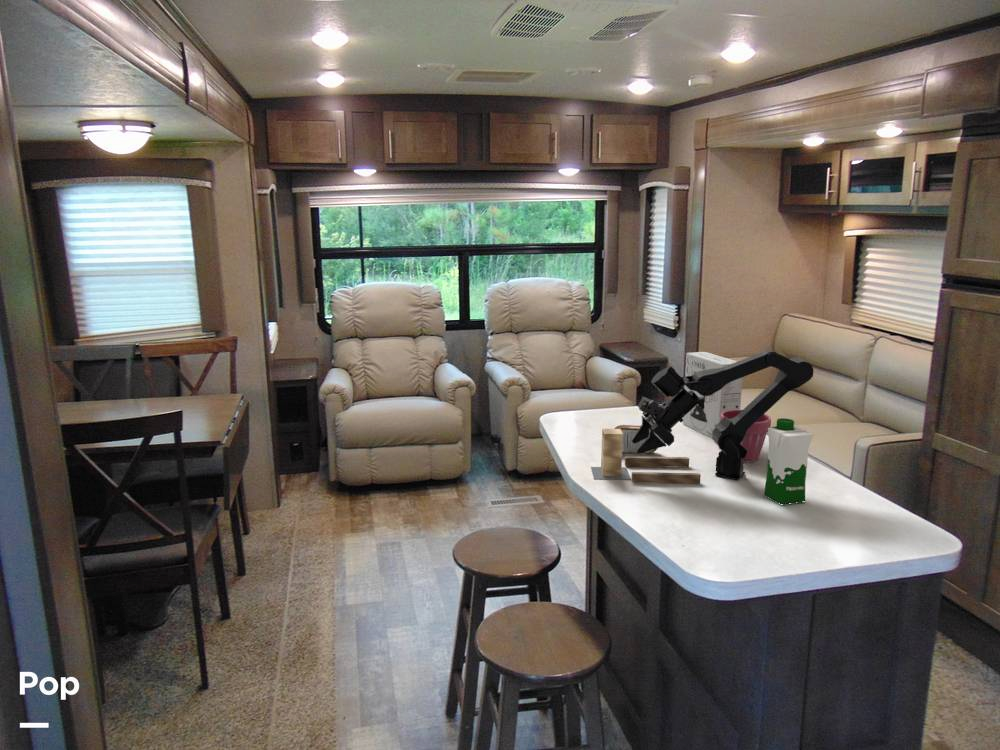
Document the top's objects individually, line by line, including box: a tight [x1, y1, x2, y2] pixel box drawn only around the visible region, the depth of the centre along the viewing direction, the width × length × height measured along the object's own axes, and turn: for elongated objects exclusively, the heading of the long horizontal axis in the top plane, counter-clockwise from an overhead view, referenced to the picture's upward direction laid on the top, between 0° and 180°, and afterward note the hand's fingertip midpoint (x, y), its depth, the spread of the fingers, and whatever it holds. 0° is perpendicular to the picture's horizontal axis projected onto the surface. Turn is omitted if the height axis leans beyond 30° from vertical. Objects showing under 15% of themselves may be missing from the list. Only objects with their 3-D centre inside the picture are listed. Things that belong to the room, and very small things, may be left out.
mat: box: [590, 466, 632, 481], centre depth 204 cm, size 10×10×1 cm
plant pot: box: [720, 409, 772, 463], centre depth 217 cm, size 14×14×13 cm
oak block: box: [600, 428, 623, 476], centre depth 203 cm, size 5×5×12 cm
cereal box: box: [681, 351, 744, 439], centre depth 243 cm, size 22×8×25 cm, turn 17°
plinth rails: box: [624, 455, 702, 485], centre depth 204 cm, size 18×15×2 cm
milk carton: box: [763, 417, 815, 505], centre depth 184 cm, size 9×9×20 cm
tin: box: [613, 424, 659, 455], centre depth 221 cm, size 15×3×8 cm, turn 84°
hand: (635, 447), depth 202 cm, fingers open, 9 cm apart
